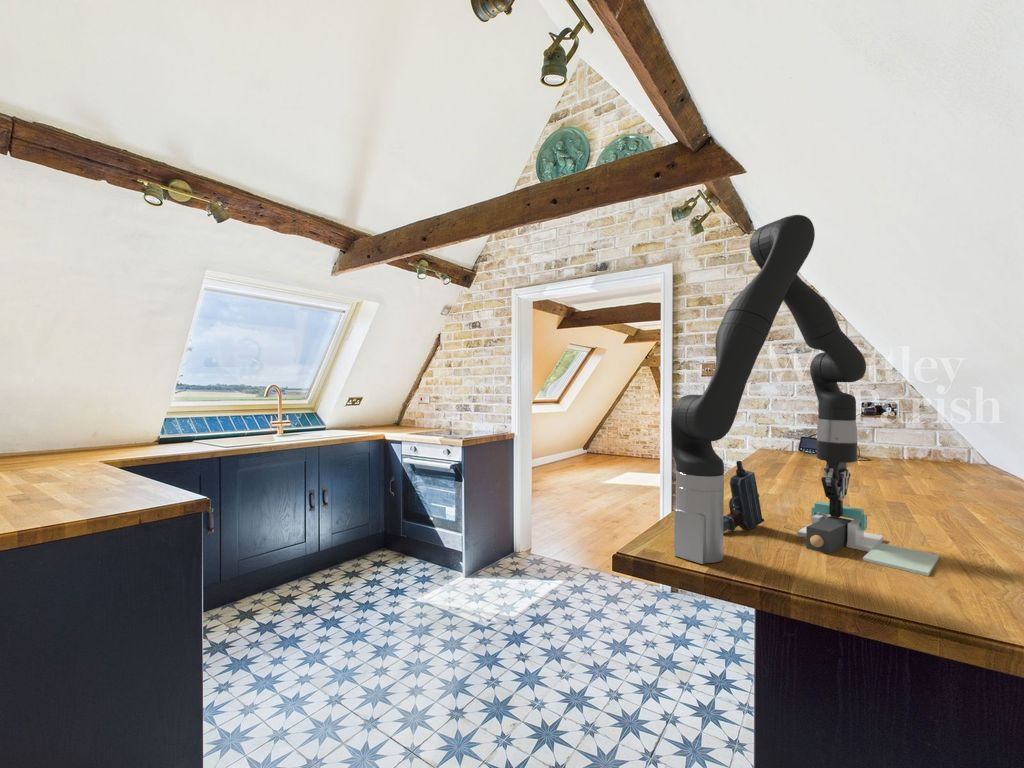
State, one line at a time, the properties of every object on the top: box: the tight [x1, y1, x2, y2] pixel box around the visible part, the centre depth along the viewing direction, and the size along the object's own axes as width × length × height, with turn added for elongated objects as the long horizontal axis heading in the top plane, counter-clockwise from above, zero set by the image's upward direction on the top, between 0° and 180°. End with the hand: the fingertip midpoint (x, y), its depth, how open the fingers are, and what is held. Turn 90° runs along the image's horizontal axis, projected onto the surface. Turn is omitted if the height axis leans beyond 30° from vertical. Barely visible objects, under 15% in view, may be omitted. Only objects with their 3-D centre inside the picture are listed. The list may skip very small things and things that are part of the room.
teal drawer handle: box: [811, 501, 868, 531], centre depth 107 cm, size 2×10×4 cm, turn 41°
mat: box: [862, 542, 940, 577], centre depth 95 cm, size 14×10×1 cm
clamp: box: [796, 512, 884, 553], centre depth 108 cm, size 12×14×5 cm
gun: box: [723, 460, 765, 533], centre depth 113 cm, size 3×17×15 cm
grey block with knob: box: [805, 515, 853, 555], centre depth 103 cm, size 16×4×5 cm, turn 127°
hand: (836, 515), depth 105 cm, fingers closed
